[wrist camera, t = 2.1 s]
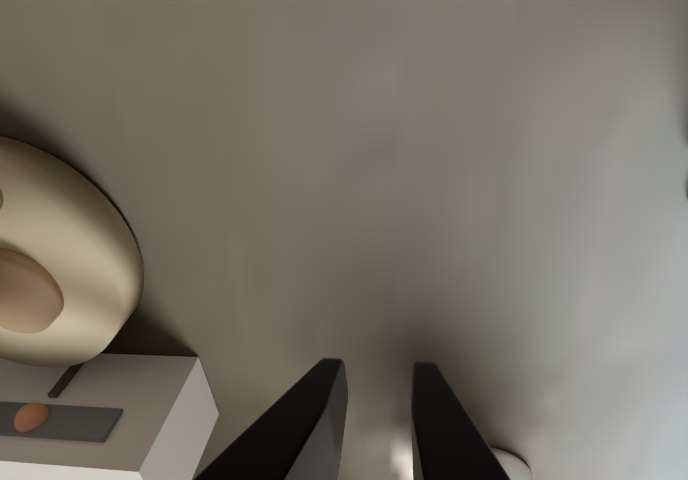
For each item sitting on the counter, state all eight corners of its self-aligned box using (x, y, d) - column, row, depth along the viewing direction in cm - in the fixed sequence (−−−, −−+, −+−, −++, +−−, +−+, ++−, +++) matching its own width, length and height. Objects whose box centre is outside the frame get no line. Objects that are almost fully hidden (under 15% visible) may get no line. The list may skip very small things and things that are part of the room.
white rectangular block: (194, 344, 27) (131, 458, 21) (219, 413, 30) (170, 530, 25) (-22, 337, 30) (-131, 438, 24) (22, 402, 33) (-65, 506, 27)
